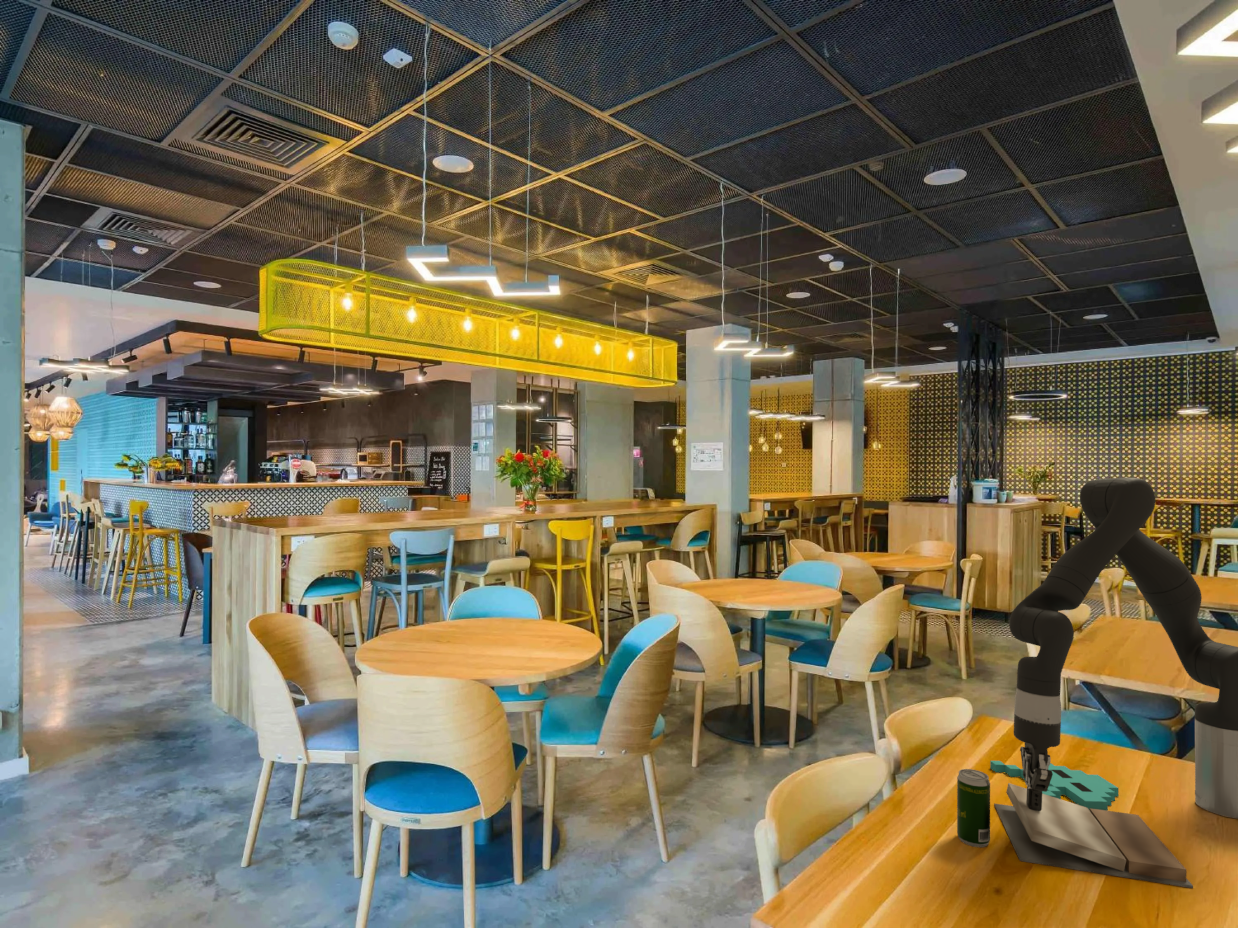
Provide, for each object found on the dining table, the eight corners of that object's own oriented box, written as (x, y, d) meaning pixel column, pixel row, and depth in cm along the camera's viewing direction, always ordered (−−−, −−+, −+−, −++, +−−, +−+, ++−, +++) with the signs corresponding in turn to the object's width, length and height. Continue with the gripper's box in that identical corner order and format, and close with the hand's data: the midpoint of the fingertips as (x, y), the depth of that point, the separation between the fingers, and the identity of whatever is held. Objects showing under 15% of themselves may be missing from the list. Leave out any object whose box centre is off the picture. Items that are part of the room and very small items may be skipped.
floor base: (1139, 825, 135) (1138, 812, 135) (1193, 887, 114) (1192, 872, 114) (994, 805, 143) (994, 793, 143) (1019, 860, 122) (1019, 846, 122)
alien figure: (1040, 810, 142) (1141, 813, 141) (1040, 799, 142) (1141, 802, 141) (990, 770, 162) (1078, 772, 161) (990, 760, 162) (1078, 762, 161)
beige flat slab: (1084, 817, 137) (1087, 807, 137) (1123, 871, 118) (1126, 859, 118) (1006, 792, 141) (1008, 782, 141) (1031, 840, 122) (1034, 829, 122)
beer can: (996, 844, 127) (996, 777, 128) (976, 850, 125) (976, 782, 125) (970, 830, 132) (970, 766, 132) (950, 836, 130) (950, 771, 130)
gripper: (1071, 729, 124) (1067, 828, 124) (1050, 707, 137) (1046, 797, 136) (1023, 723, 126) (1019, 820, 126) (1007, 702, 139) (1003, 790, 138)
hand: (1033, 808), depth 131 cm, fingers closed
